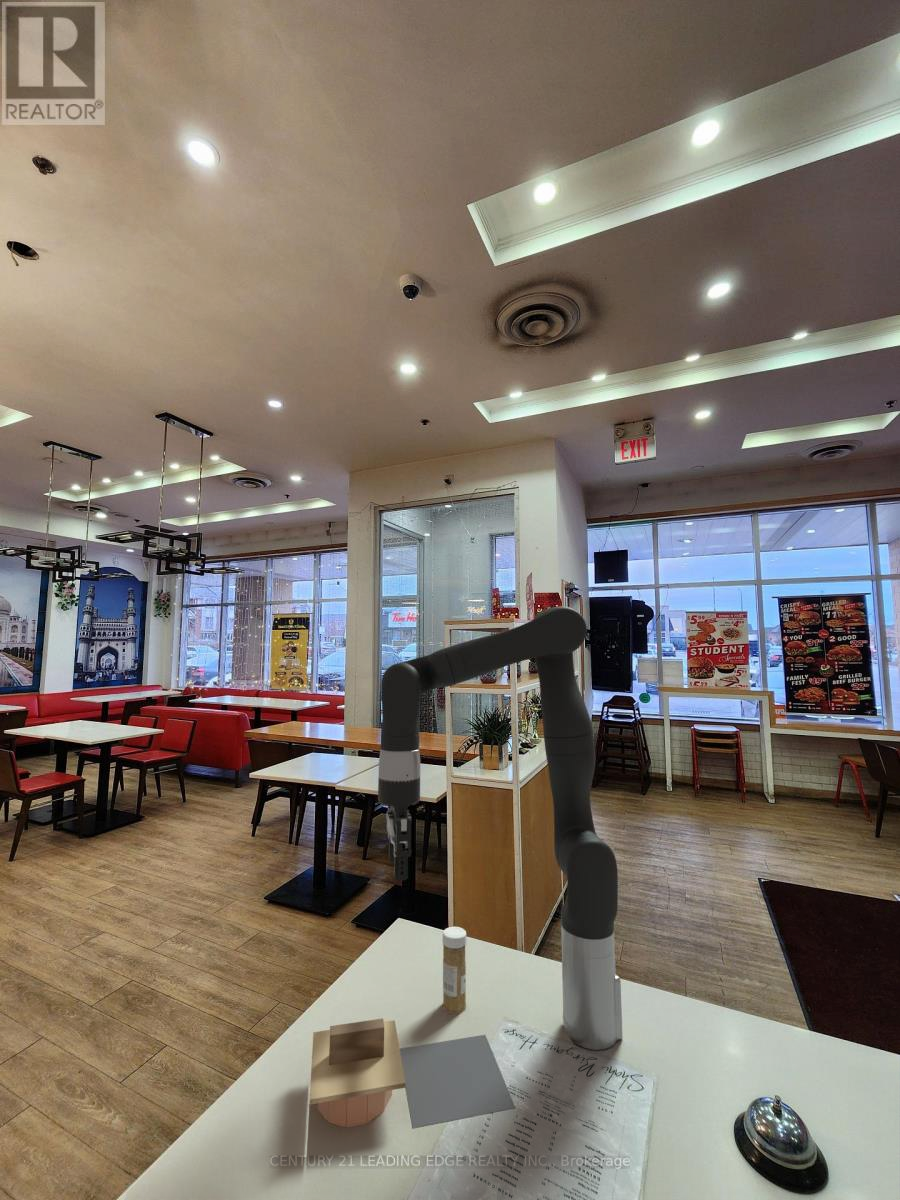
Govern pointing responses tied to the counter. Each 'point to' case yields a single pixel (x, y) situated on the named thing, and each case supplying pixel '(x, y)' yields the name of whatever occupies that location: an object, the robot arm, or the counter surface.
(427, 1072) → the rubber mat
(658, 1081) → the counter surface
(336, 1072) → the board
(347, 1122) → the terracotta ring
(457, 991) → the sprinkles bottle
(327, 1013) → the counter surface
